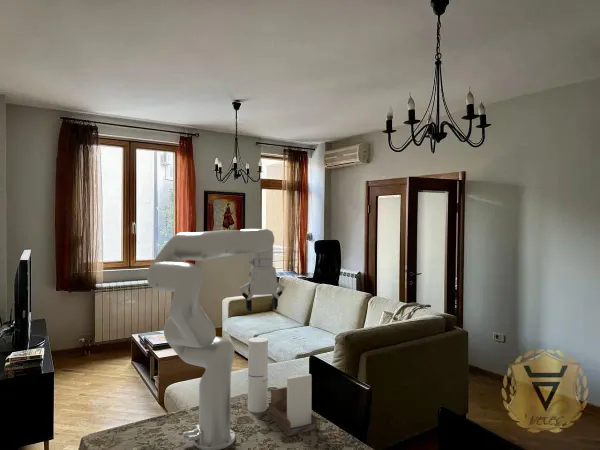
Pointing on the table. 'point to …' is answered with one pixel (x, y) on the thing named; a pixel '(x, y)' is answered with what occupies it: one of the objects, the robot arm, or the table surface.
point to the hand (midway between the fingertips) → (262, 309)
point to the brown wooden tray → (280, 413)
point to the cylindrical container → (257, 374)
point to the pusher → (299, 400)
